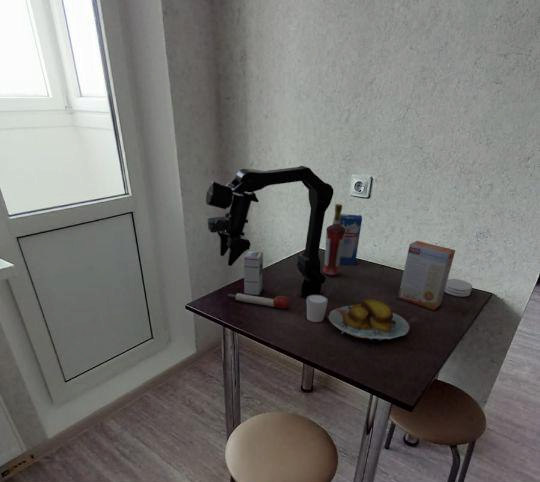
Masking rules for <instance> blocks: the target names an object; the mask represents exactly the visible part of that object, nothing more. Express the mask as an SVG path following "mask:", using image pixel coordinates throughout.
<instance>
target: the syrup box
mask: <svg viewBox="0 0 540 482" xmlns="http://www.w3.org/2000/svg"><path fill="white" fill-rule="evenodd" d="M246 252H247V253H246V254H245V255H244V256H243V288H244V289H243V290H244V291H243V292H244V293H243V294H245V295H251V296H260V294H261V292H262V291H263V287H264V286H263V285H264V283H263V282H264V279H263V278H264V274H263V273H264V252H261V251H253V250H252V251H251V250H247V251H246Z"/></svg>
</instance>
